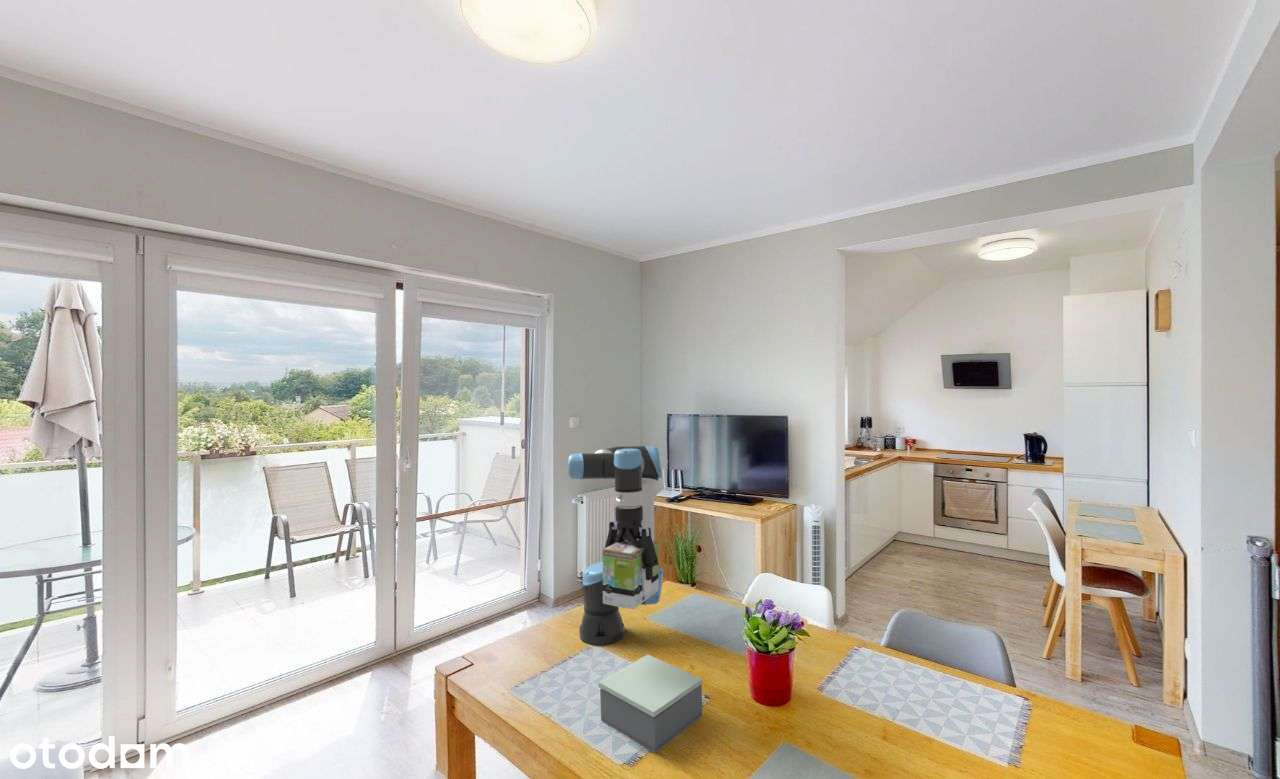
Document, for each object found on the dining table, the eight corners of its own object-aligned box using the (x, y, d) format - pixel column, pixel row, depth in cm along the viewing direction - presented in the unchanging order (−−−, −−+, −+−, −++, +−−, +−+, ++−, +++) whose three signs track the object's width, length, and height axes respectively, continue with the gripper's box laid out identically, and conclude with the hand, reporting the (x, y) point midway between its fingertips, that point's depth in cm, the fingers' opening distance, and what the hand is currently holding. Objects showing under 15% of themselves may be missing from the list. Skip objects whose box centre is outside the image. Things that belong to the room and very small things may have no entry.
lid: (647, 658, 145) (647, 654, 145) (702, 683, 132) (702, 678, 132) (598, 686, 131) (598, 682, 131) (653, 717, 119) (653, 712, 119)
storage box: (649, 688, 145) (648, 659, 144) (702, 715, 132) (701, 684, 132) (601, 720, 131) (600, 688, 131) (655, 753, 119) (654, 718, 119)
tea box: (635, 610, 134) (634, 552, 135) (602, 604, 139) (600, 548, 139) (660, 590, 148) (658, 538, 148) (628, 585, 152) (627, 534, 153)
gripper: (590, 502, 149) (591, 580, 149) (651, 514, 132) (653, 601, 132) (609, 498, 154) (611, 573, 154) (670, 509, 138) (672, 592, 137)
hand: (630, 586), depth 143 cm, fingers closed on tea box, 11 cm apart
